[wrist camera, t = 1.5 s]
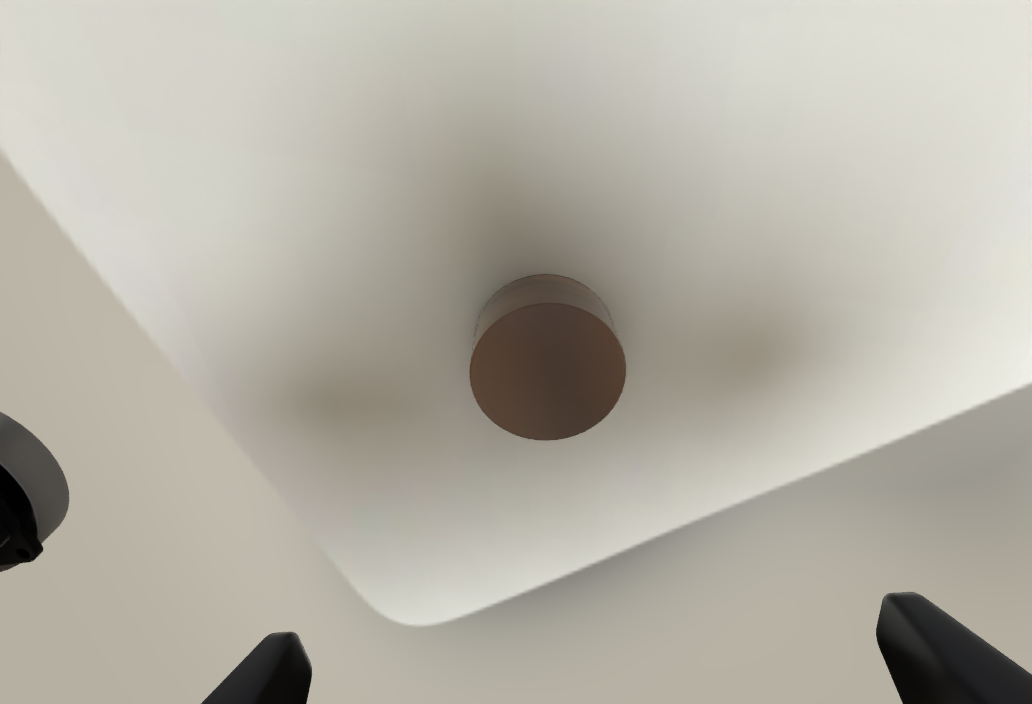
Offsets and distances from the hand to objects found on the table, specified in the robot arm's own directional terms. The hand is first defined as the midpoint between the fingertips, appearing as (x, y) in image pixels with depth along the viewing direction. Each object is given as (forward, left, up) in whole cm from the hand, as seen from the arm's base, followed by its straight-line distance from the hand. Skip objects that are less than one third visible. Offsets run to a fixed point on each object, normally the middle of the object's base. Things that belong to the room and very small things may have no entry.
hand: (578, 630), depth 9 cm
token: (0, 0, -10) cm, 10 cm away
